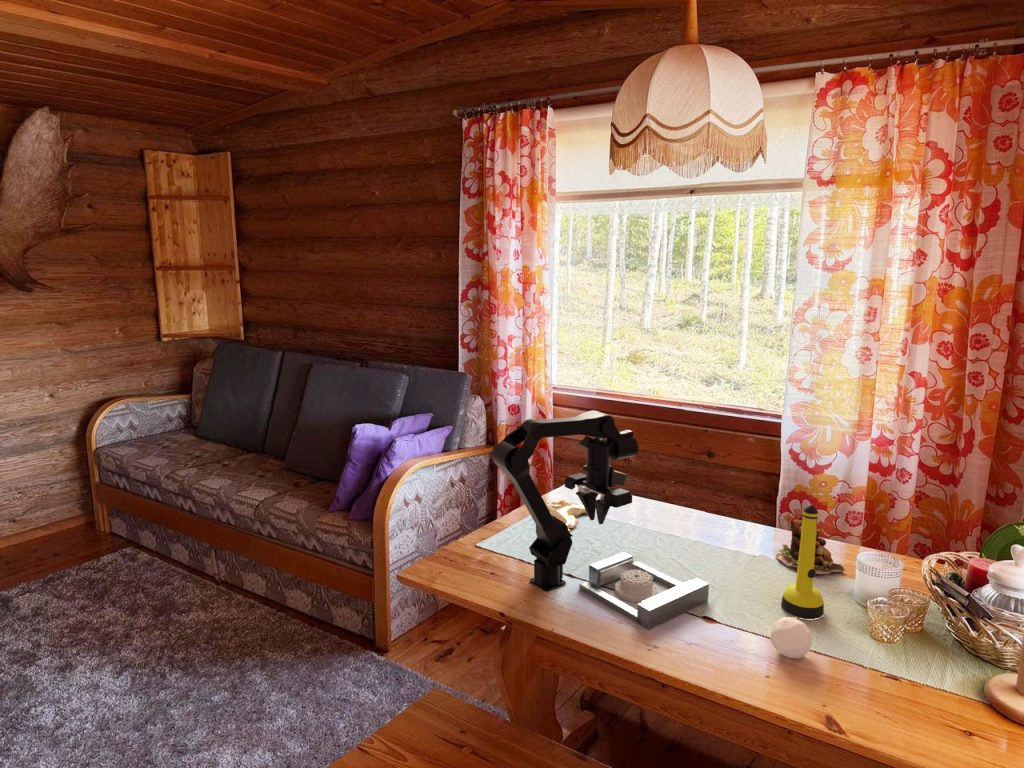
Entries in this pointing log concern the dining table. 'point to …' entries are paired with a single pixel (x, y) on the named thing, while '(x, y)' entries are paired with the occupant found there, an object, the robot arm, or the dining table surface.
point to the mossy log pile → (822, 555)
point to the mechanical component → (636, 586)
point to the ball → (791, 637)
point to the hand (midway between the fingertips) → (596, 521)
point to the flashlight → (805, 574)
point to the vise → (656, 599)
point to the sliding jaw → (610, 569)
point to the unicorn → (566, 512)
